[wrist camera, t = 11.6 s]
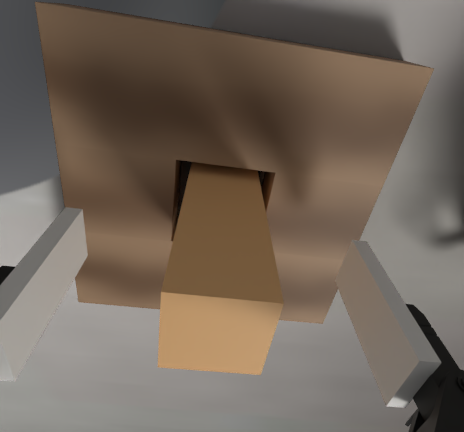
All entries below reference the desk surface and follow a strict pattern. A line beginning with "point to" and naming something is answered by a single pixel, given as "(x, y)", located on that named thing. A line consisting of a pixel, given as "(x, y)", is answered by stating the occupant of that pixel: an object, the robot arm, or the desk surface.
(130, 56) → the socket block
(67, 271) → the robot arm
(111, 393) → the desk surface
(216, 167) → the square peg
